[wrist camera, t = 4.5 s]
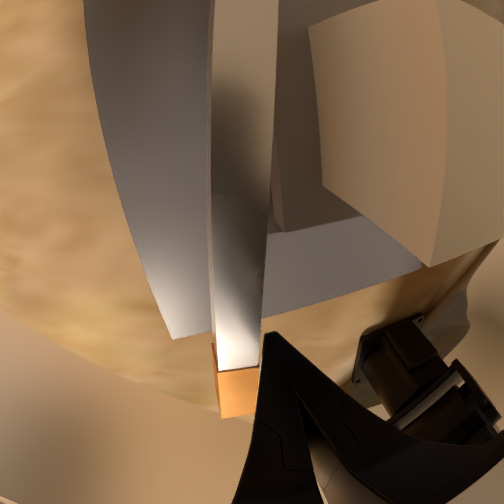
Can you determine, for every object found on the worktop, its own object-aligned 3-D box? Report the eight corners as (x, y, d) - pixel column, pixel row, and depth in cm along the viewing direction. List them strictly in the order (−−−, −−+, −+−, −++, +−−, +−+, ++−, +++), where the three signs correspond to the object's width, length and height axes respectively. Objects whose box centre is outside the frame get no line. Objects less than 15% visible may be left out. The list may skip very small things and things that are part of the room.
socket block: (402, 253, 18) (459, 304, 13) (171, 313, 16) (176, 401, 11) (387, -53, 8) (458, -77, 3) (94, -53, 6) (59, -112, 1)
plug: (393, 170, 12) (535, 252, 6) (254, 192, 11) (362, 342, 5) (386, 28, 9) (551, 26, 2) (229, 21, 8) (340, -101, 1)
